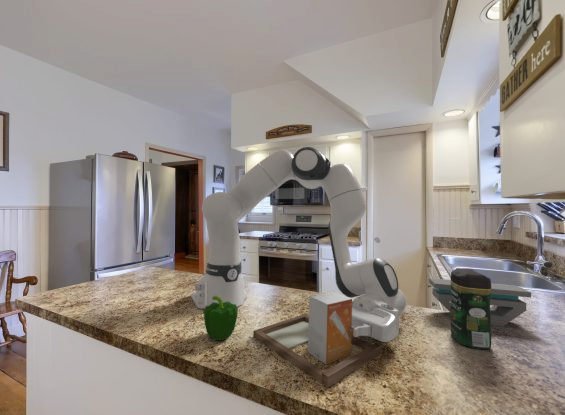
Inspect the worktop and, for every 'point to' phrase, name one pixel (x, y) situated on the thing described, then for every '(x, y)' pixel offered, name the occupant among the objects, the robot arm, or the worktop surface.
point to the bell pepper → (220, 319)
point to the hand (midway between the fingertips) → (335, 325)
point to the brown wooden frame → (296, 333)
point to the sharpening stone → (501, 298)
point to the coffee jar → (471, 308)
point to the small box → (329, 326)
